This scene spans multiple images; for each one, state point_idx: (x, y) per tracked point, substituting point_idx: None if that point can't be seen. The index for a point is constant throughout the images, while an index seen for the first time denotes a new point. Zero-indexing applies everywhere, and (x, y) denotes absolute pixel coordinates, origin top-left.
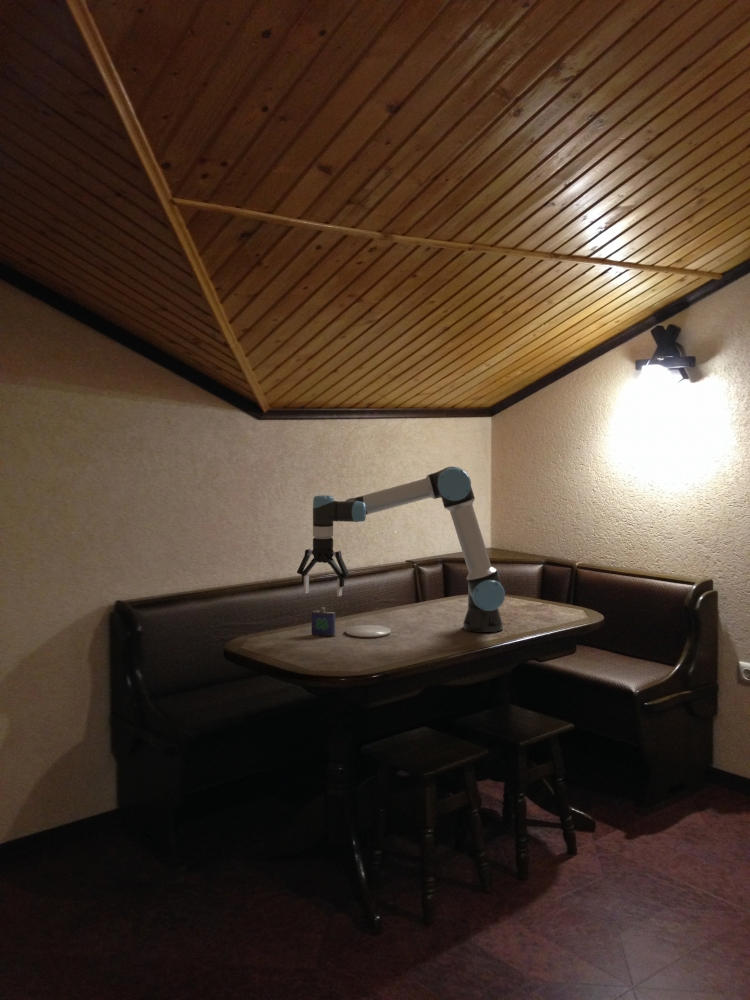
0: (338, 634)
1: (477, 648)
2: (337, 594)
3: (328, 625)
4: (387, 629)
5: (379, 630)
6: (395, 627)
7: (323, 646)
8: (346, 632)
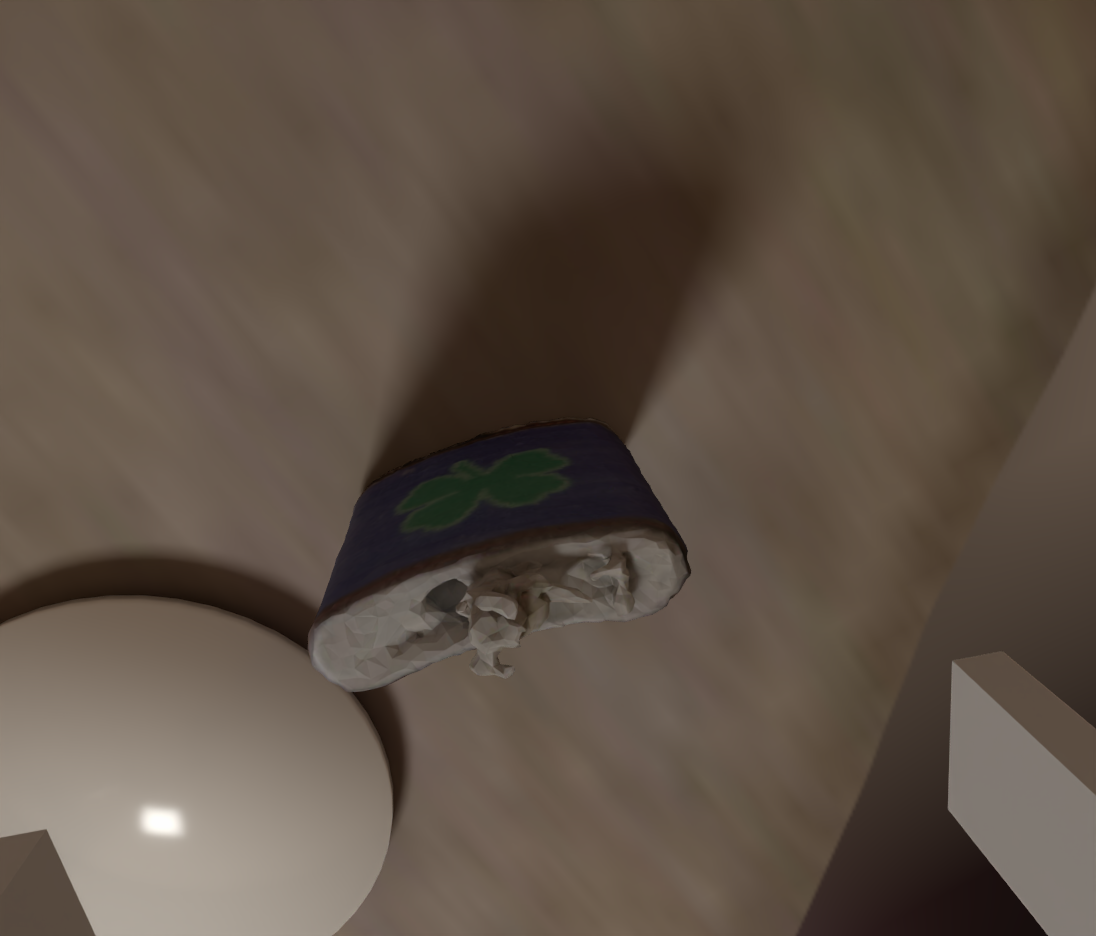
0: None
1: None
2: (4, 871)
3: (396, 513)
4: None
5: None
6: None
7: (134, 17)
8: (298, 649)
